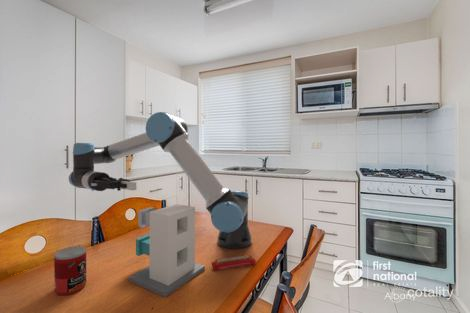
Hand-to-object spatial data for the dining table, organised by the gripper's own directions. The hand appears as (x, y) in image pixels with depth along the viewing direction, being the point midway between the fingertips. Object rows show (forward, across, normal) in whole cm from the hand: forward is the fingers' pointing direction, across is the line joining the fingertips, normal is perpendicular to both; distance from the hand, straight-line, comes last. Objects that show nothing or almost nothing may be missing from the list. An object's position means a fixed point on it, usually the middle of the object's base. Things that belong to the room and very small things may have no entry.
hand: (134, 186), depth 85 cm
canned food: (-2, +20, -28) cm, 34 cm away
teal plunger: (+11, 0, -23) cm, 26 cm away
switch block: (+17, 0, -28) cm, 32 cm away
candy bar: (+32, -16, -28) cm, 46 cm away
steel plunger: (+13, 0, -13) cm, 18 cm away
